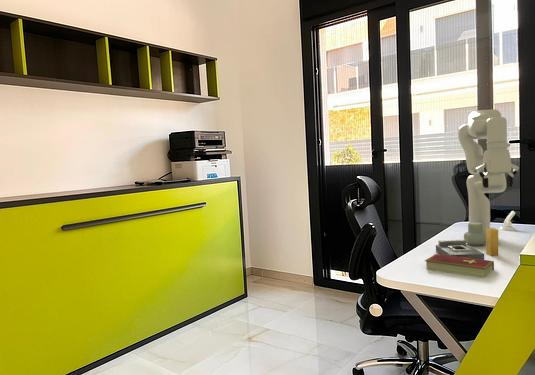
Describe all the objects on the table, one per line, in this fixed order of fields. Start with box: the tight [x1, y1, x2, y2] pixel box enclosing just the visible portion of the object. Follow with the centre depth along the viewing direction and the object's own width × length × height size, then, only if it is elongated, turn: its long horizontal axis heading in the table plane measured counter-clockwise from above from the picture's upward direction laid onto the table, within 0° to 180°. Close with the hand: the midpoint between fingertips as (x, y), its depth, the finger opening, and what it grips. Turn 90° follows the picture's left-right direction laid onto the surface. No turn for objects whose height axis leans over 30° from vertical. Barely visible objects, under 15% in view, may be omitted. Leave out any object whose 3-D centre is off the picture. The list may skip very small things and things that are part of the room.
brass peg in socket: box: [485, 227, 499, 257], centre depth 172 cm, size 4×3×11 cm, turn 175°
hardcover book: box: [424, 253, 495, 279], centre depth 154 cm, size 12×21×4 cm, turn 49°
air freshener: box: [463, 222, 486, 246], centre depth 190 cm, size 11×8×10 cm
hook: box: [499, 210, 517, 232], centre depth 220 cm, size 8×12×7 cm
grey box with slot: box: [435, 239, 485, 260], centre depth 172 cm, size 18×13×5 cm
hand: (497, 187), depth 174 cm, fingers open, 9 cm apart
